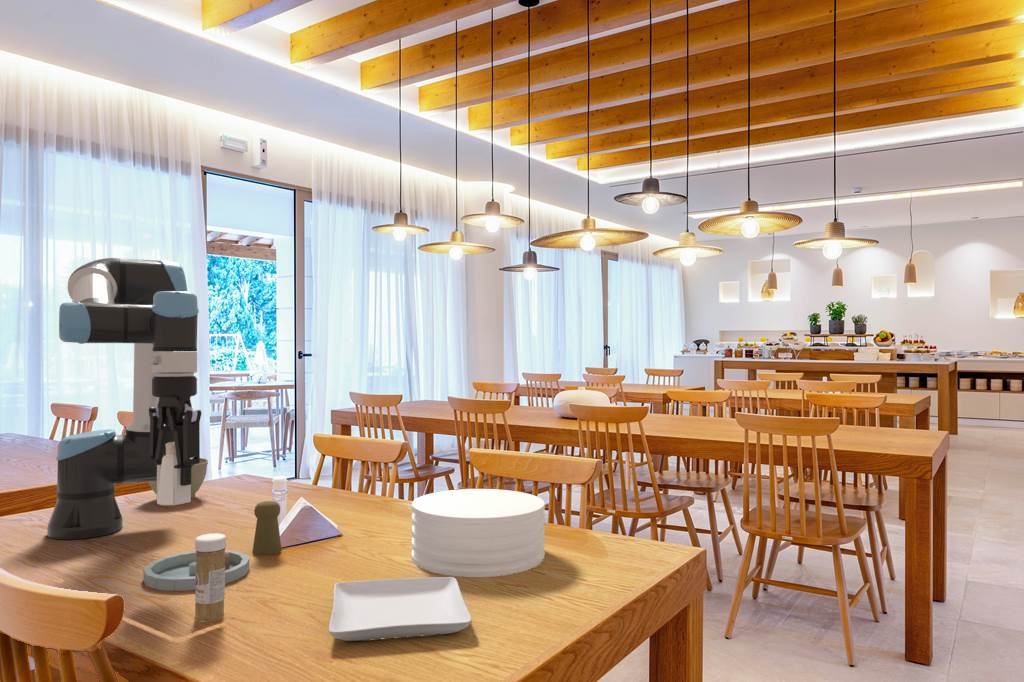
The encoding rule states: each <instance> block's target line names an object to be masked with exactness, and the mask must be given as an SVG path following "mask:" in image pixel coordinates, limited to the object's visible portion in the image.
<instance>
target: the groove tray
mask: <svg viewBox="0 0 1024 682" xmlns="http://www.w3.org/2000/svg"><path fill="white" fill-rule="evenodd" d="M225 552H228V553H230V569H228V570H225V585H226V584H230V583H232V582H235V581H238V580H240V579H241V578H243V577H244V576H246V575H247V574H248V572H249V570H250V557H249V556H248V555H247V553H243V552H240V551H236V550H229V549H225ZM143 582H144V583H143V584H144V585H145V586H146V587H149V588H150V589H153V590H157V591H167V592H168V591H169V592H183V591H195V585H196V550H194V551H188V552H187V551H186V552H181V553H176V554H172V555H168V556H164V557H161V558H159V559H156V560H153V561H151V562H150V563H148V564H147V565H146V566H144V568H143Z"/></svg>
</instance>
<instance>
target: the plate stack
mask: <svg viewBox="0 0 1024 682" xmlns="http://www.w3.org/2000/svg"><path fill="white" fill-rule="evenodd" d="M545 509H546V503H545V500H544V499H542V498H541V497H539V496H537V495H534V494H530V493H526V492H523V491H517V490H508V489H499V488H497V489H495V488H463V489H451V490H450V489H449V490H443V491H442V490H441V491H436V492H431V493H427V494H424V495H421V496H419V497H418V496H417V498H415V499H413V501H412V502H411V511H412V514H411V524H412V526H411V537H412V538H411V548H412V549H411V554H410V555H411V558H410V559H411V561H412V562H413V564H414V565H415V564H416V565H415V566H417V567H418V568H421V569H422V570H424V569H425V571H427V570H428V571H427V572H430V571H431V572H432V573H434V574H438V573H439V574H440V575H444V576H449V577H453V576H454V577H459V578H460V577H463V578H464V577H465V578H490V577H491V576H492V577H502V576H508V574H509V575H514V574H513V573H515V574H518V572H519V573H523V572H526V571H529V570H531V568H532V569H534V568H536V567H537V565H538V564H539V565H540V563H541V562H542V561H543V562H544V560H545V557H544V556H545V552H546V551H545V549H544V548H545V543H546V541H545V537H544V536H545V530H546V528H545V525H544V524H545V522H546V520H545V519H546V514H545V513H544V512H545ZM543 559H544V560H543ZM543 562H542V563H543ZM542 563H541V564H542ZM539 565H538V566H539ZM535 566H536V567H535ZM533 567H534V568H533ZM528 569H529V570H528ZM525 570H526V571H525ZM522 571H523V572H522ZM501 575H502V576H501Z"/></svg>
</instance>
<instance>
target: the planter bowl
mask: <svg viewBox="0 0 1024 682" xmlns="http://www.w3.org/2000/svg"><path fill="white" fill-rule="evenodd" d="M193 458H194V457H193ZM208 463H209V460H208V459H207V458H201V457H200V462H199V464H195V465H193V466H192V468H191V498H193V499H194V498H196V497H195V496H196V494H197V492H198V491H199V490H200V488H201V487H202V485H203V483H204V481H205V479H206V474H207V471H208V470H207V469H208ZM148 483H149V486H150V488H151V489H152V492H153V493H155V495H156V496H157V482H156V481H148Z"/></svg>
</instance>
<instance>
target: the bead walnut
mask: <svg viewBox="0 0 1024 682" xmlns="http://www.w3.org/2000/svg"><path fill="white" fill-rule="evenodd" d="M228 569H230V553H228V552H225V570H228Z"/></svg>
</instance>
